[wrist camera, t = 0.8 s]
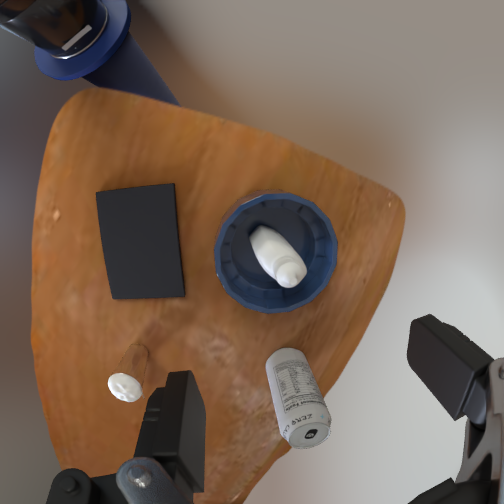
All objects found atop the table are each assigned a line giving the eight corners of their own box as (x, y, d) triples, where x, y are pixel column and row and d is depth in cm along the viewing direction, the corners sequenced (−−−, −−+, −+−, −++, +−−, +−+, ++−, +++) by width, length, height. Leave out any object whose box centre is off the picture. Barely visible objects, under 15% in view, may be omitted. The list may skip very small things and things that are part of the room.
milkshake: (161, 363, 39) (149, 410, 30) (129, 364, 39) (111, 409, 29) (153, 338, 38) (138, 384, 28) (120, 340, 38) (98, 383, 28)
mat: (98, 191, 32) (95, 192, 31) (174, 183, 33) (173, 183, 32) (114, 296, 36) (112, 299, 35) (185, 294, 37) (184, 296, 36)
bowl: (212, 192, 33) (210, 196, 28) (322, 188, 35) (338, 192, 29) (219, 296, 37) (219, 317, 32) (319, 288, 38) (333, 307, 33)
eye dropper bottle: (261, 270, 36) (279, 317, 25) (245, 229, 35) (257, 261, 23) (294, 258, 36) (325, 299, 25) (280, 216, 35) (308, 241, 23)
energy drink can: (260, 374, 41) (276, 451, 27) (270, 342, 40) (292, 420, 26) (297, 377, 42) (323, 450, 28) (309, 346, 41) (344, 419, 27)
